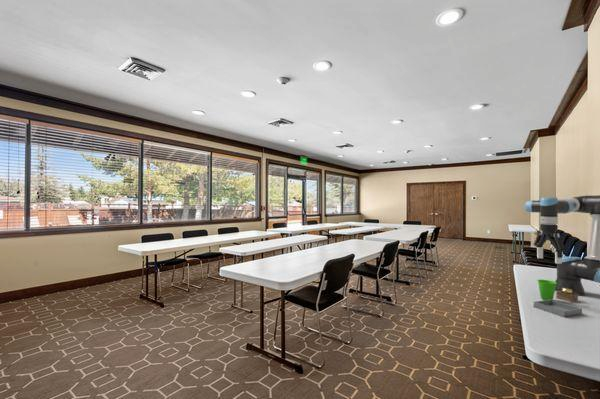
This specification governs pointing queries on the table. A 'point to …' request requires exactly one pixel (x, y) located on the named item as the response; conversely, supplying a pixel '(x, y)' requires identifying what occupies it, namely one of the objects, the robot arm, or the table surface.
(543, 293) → the cup
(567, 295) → the block
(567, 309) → the tray
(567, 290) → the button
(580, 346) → the table surface
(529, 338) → the table surface
